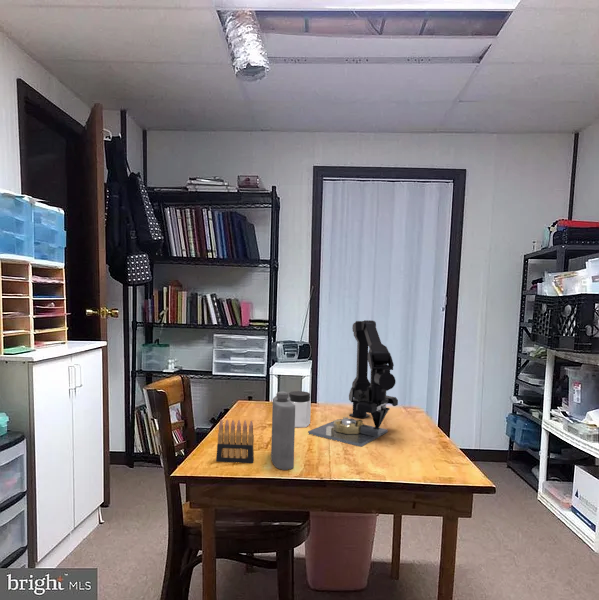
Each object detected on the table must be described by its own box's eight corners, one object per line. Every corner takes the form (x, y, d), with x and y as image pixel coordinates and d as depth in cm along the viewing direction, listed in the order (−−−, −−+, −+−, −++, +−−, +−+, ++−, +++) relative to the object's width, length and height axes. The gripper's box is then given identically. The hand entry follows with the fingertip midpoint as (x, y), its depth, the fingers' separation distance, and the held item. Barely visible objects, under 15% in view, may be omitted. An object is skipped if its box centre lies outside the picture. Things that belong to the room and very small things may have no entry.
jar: (314, 425, 163) (315, 394, 163) (297, 429, 158) (298, 396, 158) (299, 420, 170) (300, 390, 170) (283, 423, 165) (284, 392, 165)
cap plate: (338, 421, 170) (338, 410, 170) (387, 432, 157) (387, 419, 157) (308, 433, 152) (308, 421, 152) (361, 446, 140) (361, 432, 140)
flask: (269, 452, 133) (270, 387, 133) (287, 451, 134) (289, 387, 134) (274, 470, 118) (276, 398, 118) (294, 470, 119) (297, 397, 119)
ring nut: (329, 430, 154) (329, 420, 154) (343, 424, 162) (343, 415, 162) (372, 439, 144) (373, 430, 144) (385, 433, 152) (385, 423, 152)
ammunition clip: (215, 461, 124) (217, 419, 124) (217, 459, 126) (218, 418, 126) (252, 463, 123) (254, 421, 123) (253, 460, 125) (255, 419, 125)
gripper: (373, 378, 166) (372, 418, 166) (344, 384, 152) (343, 428, 152) (399, 382, 159) (398, 424, 158) (371, 388, 145) (370, 435, 145)
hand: (377, 427), depth 154 cm, fingers closed
